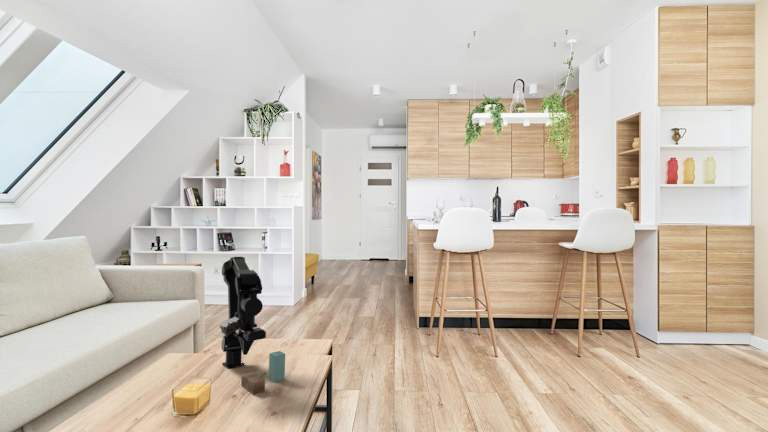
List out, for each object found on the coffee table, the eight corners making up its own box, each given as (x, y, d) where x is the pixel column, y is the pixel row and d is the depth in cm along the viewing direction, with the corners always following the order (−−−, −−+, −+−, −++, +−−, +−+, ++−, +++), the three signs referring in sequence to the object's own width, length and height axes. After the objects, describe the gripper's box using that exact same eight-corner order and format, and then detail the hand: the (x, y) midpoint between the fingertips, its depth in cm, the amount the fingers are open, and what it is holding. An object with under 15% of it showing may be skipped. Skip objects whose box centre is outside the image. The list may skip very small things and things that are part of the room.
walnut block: (241, 374, 136) (253, 383, 130) (253, 372, 139) (265, 380, 132) (241, 386, 136) (253, 395, 130) (252, 383, 139) (264, 392, 132)
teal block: (268, 378, 143) (269, 353, 143) (279, 376, 146) (279, 350, 146) (274, 382, 140) (274, 356, 140) (284, 379, 143) (285, 353, 143)
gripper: (212, 307, 141) (211, 352, 141) (234, 318, 127) (233, 367, 127) (243, 303, 149) (242, 345, 148) (267, 313, 135) (265, 360, 135)
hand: (245, 354), depth 139 cm, fingers closed
